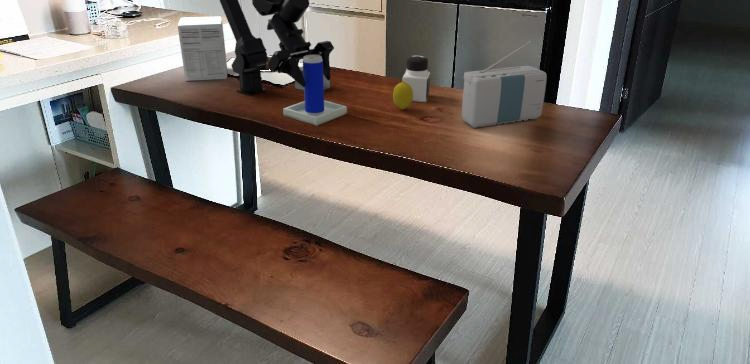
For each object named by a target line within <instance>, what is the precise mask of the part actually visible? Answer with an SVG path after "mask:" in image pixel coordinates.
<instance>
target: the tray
mask: <svg viewBox="0 0 750 364" xmlns="http://www.w3.org/2000/svg"><path fill="white" fill-rule="evenodd" d="M282 113H283V117H287V118H290V119H294V120H297V121H300V122H303V123H306V124H309V125H313V126H316V127H317V126H319V125H322V124H324V123H327V122H329V121H332V120H334V119H336V118H339V117H341V116H344V115H346V114H348V106H346V105H343V104H339V103H336V102H333V101H329V100H325V99H324V111H323V113H322V114H319V115H310V114H307V113H306V111H305V100H303V101H301V102H298V103H295V104H291V105H289V106H287V107H284V108H282Z"/></svg>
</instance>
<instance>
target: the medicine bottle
mask: <svg viewBox="0 0 750 364" xmlns="http://www.w3.org/2000/svg"><path fill="white" fill-rule="evenodd" d="M428 62H429V60H428V58H427V57H426V56H422V55H411V56H409V57H407V59H406V70H405V73H404V74H403V76H402V82H403V81H404V82H405V83H407V84H409V85H410V86H411V88H412V90H413V100H412V102H418V103H427V101H428V99H429V97H430V96H429V95H430V86H431V85H430V84H431V72H430V71H428V68H429V67H428V66H429V65H428Z"/></svg>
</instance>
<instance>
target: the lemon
mask: <svg viewBox="0 0 750 364" xmlns="http://www.w3.org/2000/svg"><path fill="white" fill-rule="evenodd" d="M392 100H393V103H394V105H395V106H396V107H398V108H399V109H400V110H405V109H406V108H408V107H410V106H411V105H412V102H413V101H412V100H413V90H412V88H411V86H410V85H409V84H407V83H405V82H404V81H403V80H402V81H401V82H399V83H398V84H396V85H395V87H394V88H393V93H392Z"/></svg>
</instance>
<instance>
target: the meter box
mask: <svg viewBox="0 0 750 364" xmlns="http://www.w3.org/2000/svg"><path fill="white" fill-rule="evenodd" d="M299 68H300V70H301V72H302V75H303V65H302V66H299ZM323 84H324V91H325V90H328V89H330V88H331V79H330V80H329V81H328V80H327V79H326V77H325V76H324V74H323ZM294 89H298V90H299V91H300V90H301V91H304V87H303V86H301V85H300V84H299V83H298V82H297V81H296V80H294Z"/></svg>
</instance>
